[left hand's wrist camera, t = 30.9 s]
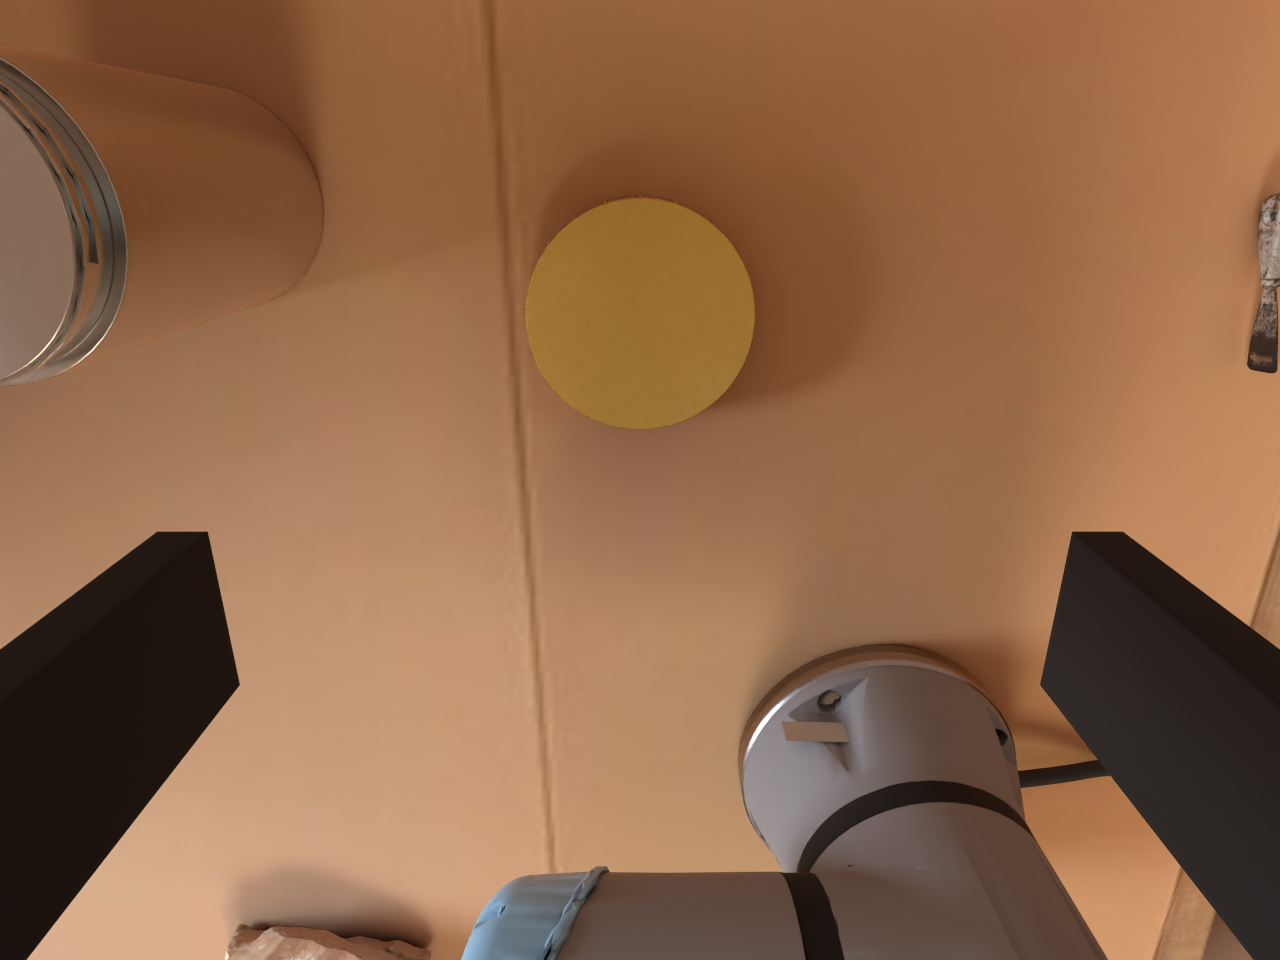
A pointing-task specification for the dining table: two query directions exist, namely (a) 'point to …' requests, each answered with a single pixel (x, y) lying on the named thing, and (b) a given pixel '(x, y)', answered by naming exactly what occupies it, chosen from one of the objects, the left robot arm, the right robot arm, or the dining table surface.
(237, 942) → the stone
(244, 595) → the dining table surface
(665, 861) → the dining table surface
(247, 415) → the dining table surface
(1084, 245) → the dining table surface
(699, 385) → the lid
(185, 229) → the jar
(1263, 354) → the putty knife
